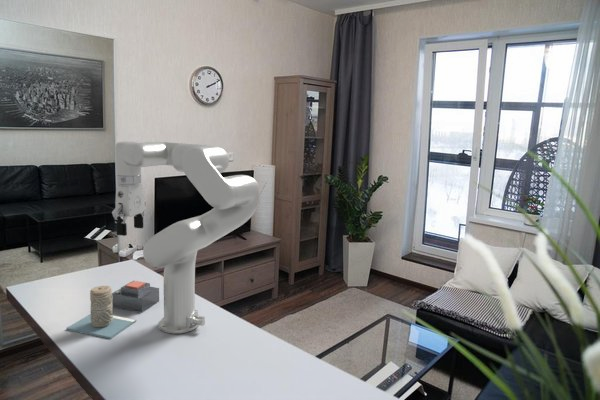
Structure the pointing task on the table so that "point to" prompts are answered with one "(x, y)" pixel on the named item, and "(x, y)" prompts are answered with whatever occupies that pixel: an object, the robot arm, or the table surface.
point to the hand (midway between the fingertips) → (130, 231)
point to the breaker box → (135, 298)
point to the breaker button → (135, 285)
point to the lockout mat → (107, 332)
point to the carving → (101, 306)
